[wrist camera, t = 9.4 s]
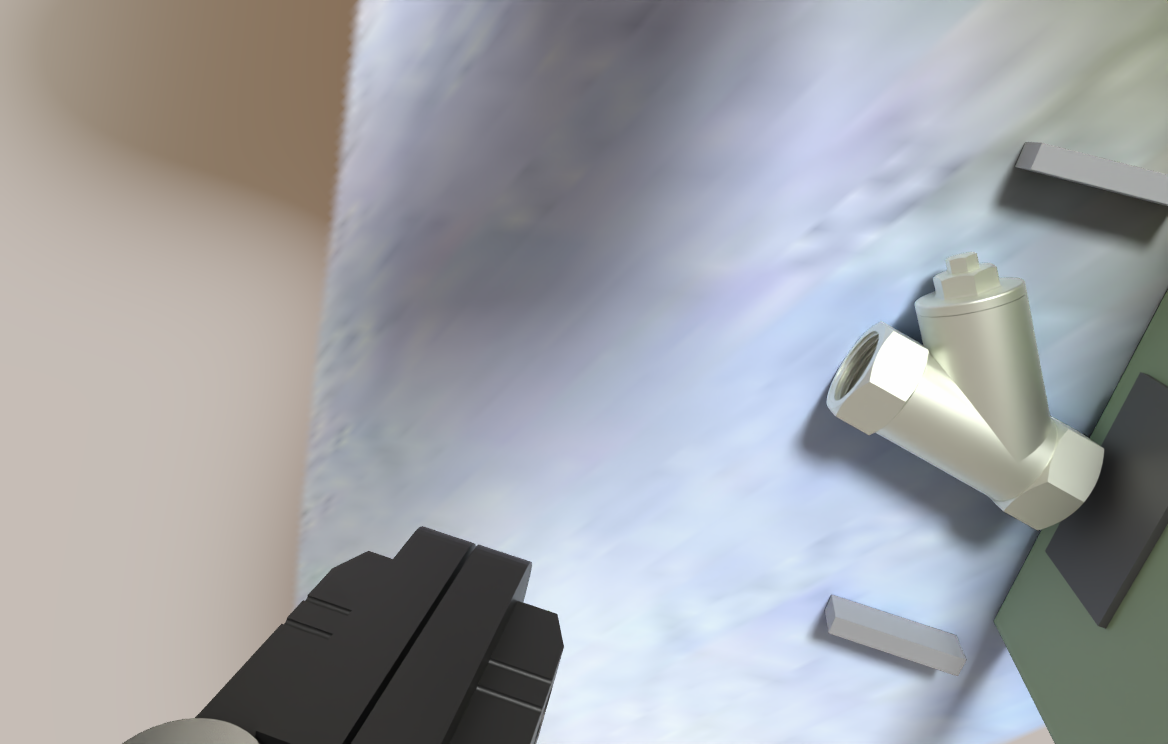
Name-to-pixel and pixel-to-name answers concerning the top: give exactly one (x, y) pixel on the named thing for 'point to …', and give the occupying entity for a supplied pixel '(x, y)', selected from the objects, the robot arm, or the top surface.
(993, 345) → the pipe fitting
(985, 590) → the top surface
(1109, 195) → the top surface
